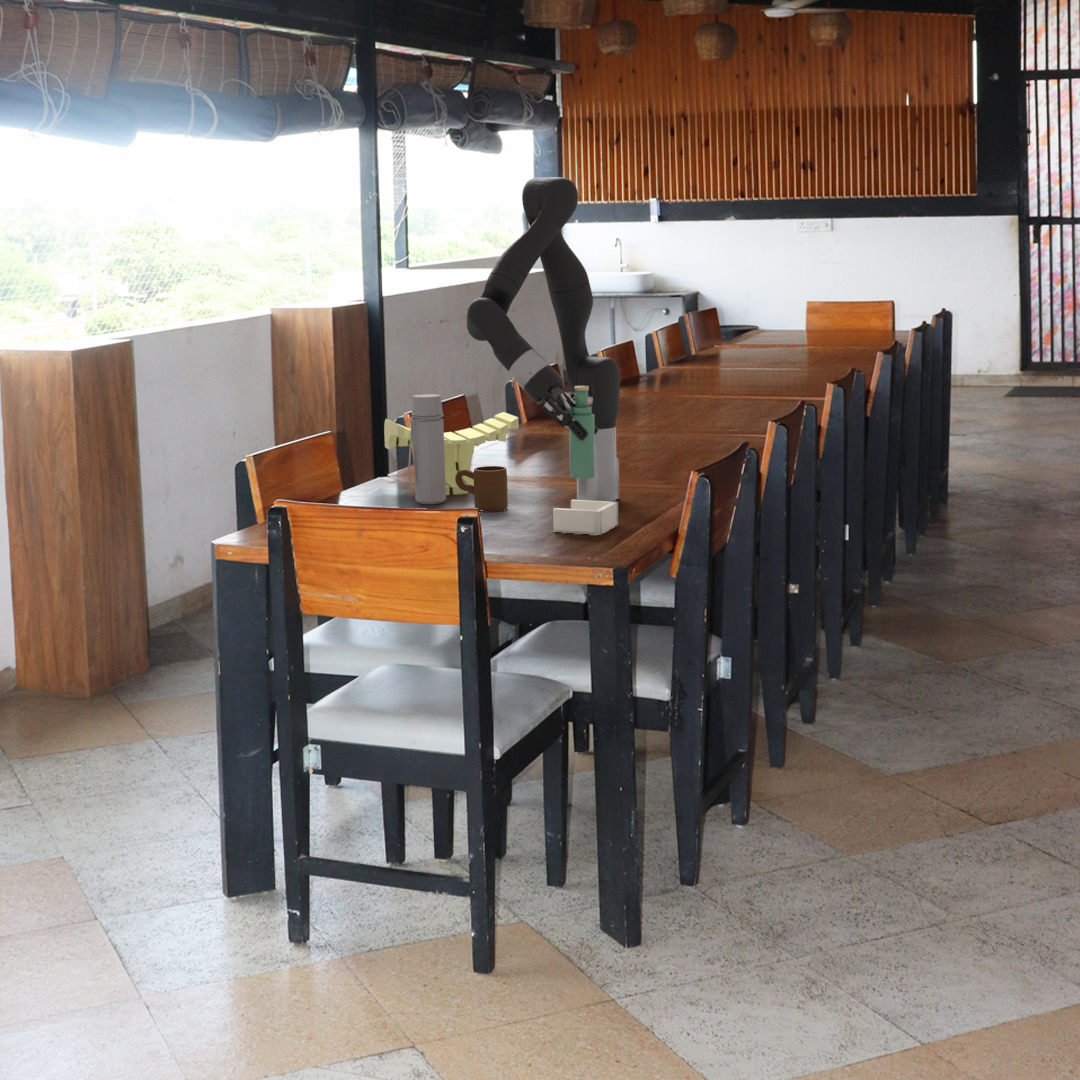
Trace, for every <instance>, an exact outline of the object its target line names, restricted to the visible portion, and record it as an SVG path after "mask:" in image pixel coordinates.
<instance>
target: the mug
mask: <svg viewBox="0 0 1080 1080" xmlns="http://www.w3.org/2000/svg"><path fill="white" fill-rule="evenodd" d="M462 476H467V477H469V478H472V479H473V480H474V486H473V485H471V484H465V483H464V482H463V480H462ZM455 481H456V484H457V486H458V487H459V488H460V489H462V490H464V491H468V492H470V493H469V494H471V495H473V498H474V499H473V501H474V508H478V509H479V510H483V511H498V512H502V511H501V510H503V511H505V510H507V509H508V505H509V504H508V498H509V497H508V473H507V468H506V467H505V466H499V465H487V466H486V465H485V466H479V467H475V468H473V471H472V470H471V469H470V470H468V469H462V470H460V471H458V472H457V474H456V476H455ZM504 509H505V510H504Z"/></svg>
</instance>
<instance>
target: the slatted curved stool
mask: <svg viewBox="0 0 1080 1080" xmlns="http://www.w3.org/2000/svg"><path fill="white" fill-rule="evenodd" d="M519 421H520V420H519V416H516V415H514V414H510V413H507V412H505V411H503V412H499V413H497V414H495V415H494V416H493V418H492V417H490V418H489V419H486V420H483V423H480V422H479V423H477V424H475V425H472V428H471V427H468V428H465V429H460V430H454V432H452V431H448V432H444V454H445V484H446V496H450V495H464V494H465V495H467V494H471V493H470V492H468V491H464V490H462V489H460V488H459V487H458V486H457V484H456V481H455V476H456V474H457V472H458V471H460V470H462V469H468V470H470V471H471V467H470V464H471V460H472V458H473V455H474V453H475V446H476V447H479V446H480V445H482V444H485V443H486V441H487V442H495V441H498V442H503V443H506V442H507V441H506V440H507V434H508V433H509V431H508V430H519V428H520V425H519ZM383 427H384V428H383V430H384V431H383V432H384V433H383V434H384V448H385V449H387V450H391V449H395V448H397V446H398V447H399V448H400V447H408V446H409V447H410V432H411V427H406V426H404V425H402V424H400V423H396V422H394V421H392V420H390V419H388V418H385V420H384V425H383ZM411 448H413V445H412V444H411ZM462 480H463V482H464V483H465V484H471V485H473V486H474V480H473V479H472V478H469V477H467V476H462Z"/></svg>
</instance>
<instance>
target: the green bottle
mask: <svg viewBox="0 0 1080 1080" xmlns="http://www.w3.org/2000/svg"><path fill="white" fill-rule="evenodd" d="M574 387H575V393H574V394H575V407H572V414H573V415H574V417H575V418H576V421H578V422H579V423H580V424H581V425H582V426H583V427H584V428H585V429H586V431H587V432H588V433H589V434H588V436H587V437H586V438H585V439H584V440H582V441H581V440H579V438H578V437H577V436H576V435H575V434H574V433H573V432H572V431H571V430H570V429H569V428H568V429H569V433H568V434H569V439H568V440H569V441H568V442H569V445H568V446H569V478H571V479H576V480H577V479H588V478H593V477H595V440H594V414H592V413H591V407H592V406H589V397H588V390H589V386H574ZM576 421H575V422H576Z"/></svg>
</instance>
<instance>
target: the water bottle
mask: <svg viewBox="0 0 1080 1080" xmlns="http://www.w3.org/2000/svg"><path fill="white" fill-rule="evenodd" d="M411 398H412V399H411V417H409V419H408V420H409V424H410V428H411V432H410V446H409V450H408V463H407V464H408V465H407V477H408V482H409V484H410V485H414V492H415V493H414V495H415V496H414V498H415V501H416V502H417V503H418V504H420V505H438V504H442V503H444V502H445V501H446V500H447V495H446V484H445V454H444V433H445V432H444V429H445V428H444V419H443V417H444V415H445V414H444V411H443V405H442V403H443V402H442V396H441V394H435V393H431V394H426V393H425V394H424V393H423V394H415V395H412V397H411ZM411 444H412V445H413V447H411ZM411 457H412V458H413V459H412V458H411ZM411 459H412V461H413V476H414V478H413V480H412V481H411Z"/></svg>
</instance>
